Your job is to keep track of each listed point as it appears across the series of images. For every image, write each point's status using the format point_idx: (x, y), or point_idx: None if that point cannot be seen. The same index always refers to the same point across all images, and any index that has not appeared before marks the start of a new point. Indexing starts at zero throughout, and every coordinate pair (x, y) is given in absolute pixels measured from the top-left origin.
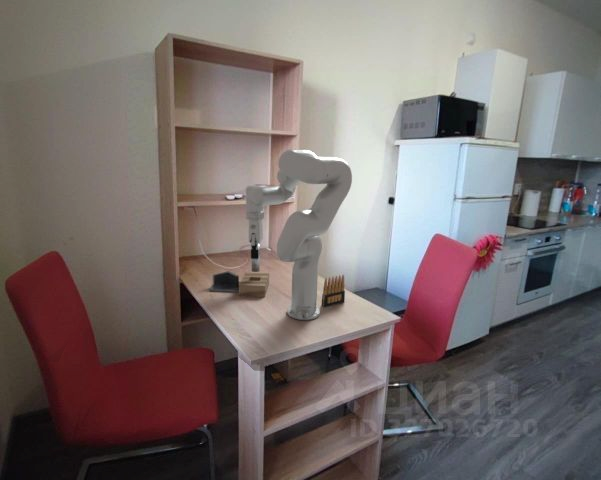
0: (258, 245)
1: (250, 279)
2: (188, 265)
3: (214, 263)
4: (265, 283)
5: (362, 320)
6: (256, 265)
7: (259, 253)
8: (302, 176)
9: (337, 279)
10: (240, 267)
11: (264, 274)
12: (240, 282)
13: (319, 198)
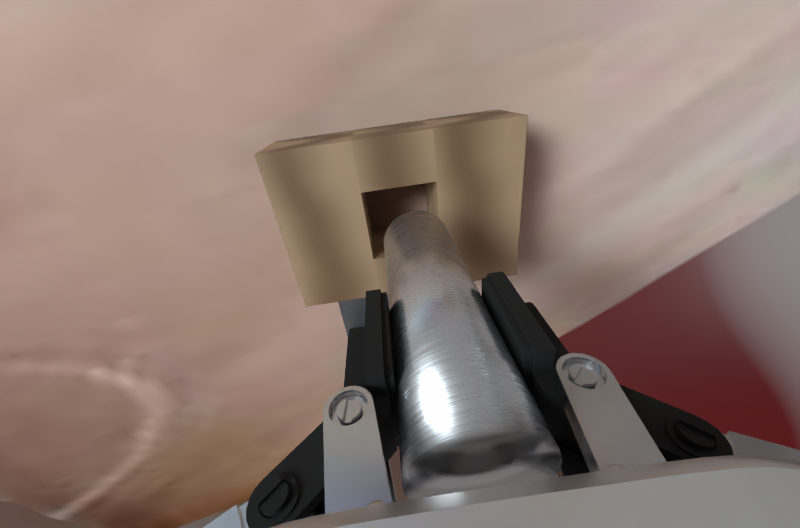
0: (522, 416)
1: (372, 250)
2: (222, 500)
3: (138, 457)
4: (479, 125)
5: None
6: (458, 251)
7: (448, 302)
8: None
9: None
10: (108, 362)
11: (294, 184)
12: (478, 278)
13: None
